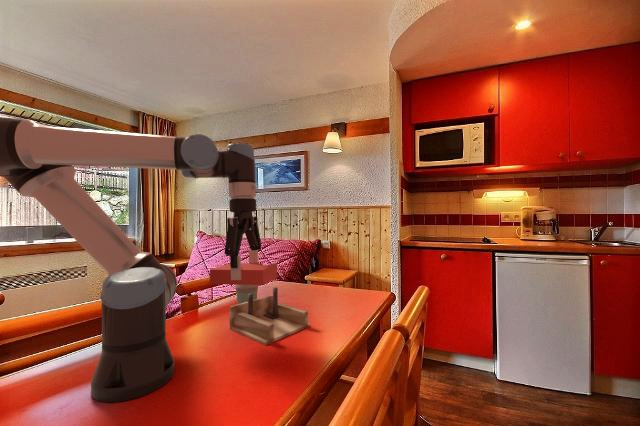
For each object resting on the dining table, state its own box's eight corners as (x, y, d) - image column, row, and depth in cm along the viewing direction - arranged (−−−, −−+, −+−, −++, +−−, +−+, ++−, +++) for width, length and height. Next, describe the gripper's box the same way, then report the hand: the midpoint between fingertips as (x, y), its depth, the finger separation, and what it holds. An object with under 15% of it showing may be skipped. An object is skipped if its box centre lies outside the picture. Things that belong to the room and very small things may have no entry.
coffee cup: (261, 309, 109) (261, 278, 109) (254, 317, 100) (254, 283, 101) (240, 309, 110) (239, 277, 110) (231, 317, 101) (230, 283, 101)
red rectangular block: (210, 284, 80) (209, 266, 80) (229, 276, 90) (228, 260, 90) (263, 285, 76) (262, 266, 76) (277, 277, 86) (276, 260, 86)
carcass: (265, 345, 79) (265, 304, 79) (229, 328, 91) (229, 293, 91) (310, 325, 93) (310, 291, 93) (274, 313, 104) (273, 283, 104)
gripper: (234, 195, 71) (237, 285, 71) (270, 199, 93) (273, 267, 93) (207, 197, 73) (210, 285, 73) (249, 200, 95) (251, 267, 95)
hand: (245, 275), depth 83 cm, fingers closed on red rectangular block, 10 cm apart
